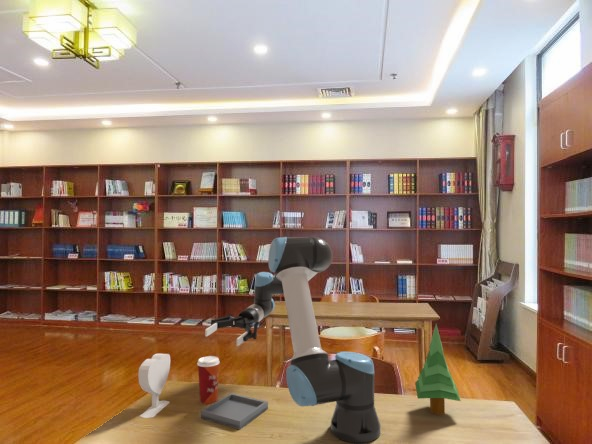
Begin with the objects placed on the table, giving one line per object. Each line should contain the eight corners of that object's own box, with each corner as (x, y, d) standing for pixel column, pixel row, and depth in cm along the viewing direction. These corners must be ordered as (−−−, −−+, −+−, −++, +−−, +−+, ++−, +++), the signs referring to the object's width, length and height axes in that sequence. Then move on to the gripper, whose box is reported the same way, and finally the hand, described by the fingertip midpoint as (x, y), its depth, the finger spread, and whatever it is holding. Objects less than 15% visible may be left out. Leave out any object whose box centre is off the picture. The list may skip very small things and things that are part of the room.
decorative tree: (419, 420, 130) (418, 327, 131) (414, 400, 146) (412, 316, 146) (463, 424, 128) (462, 329, 128) (453, 402, 143) (452, 318, 144)
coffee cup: (214, 406, 142) (214, 363, 143) (193, 404, 144) (193, 362, 144) (223, 396, 151) (223, 356, 151) (203, 394, 152) (203, 354, 152)
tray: (267, 408, 140) (267, 401, 140) (240, 429, 126) (240, 421, 126) (231, 399, 148) (230, 392, 148) (200, 418, 133) (200, 410, 134)
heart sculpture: (159, 399, 149) (159, 350, 149) (172, 399, 148) (172, 350, 148) (136, 418, 134) (136, 364, 134) (150, 419, 133) (150, 364, 133)
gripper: (277, 332, 162) (250, 356, 143) (225, 317, 172) (193, 338, 153) (278, 314, 161) (251, 336, 142) (225, 301, 170) (193, 320, 151)
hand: (221, 337), depth 147 cm, fingers open, 13 cm apart
